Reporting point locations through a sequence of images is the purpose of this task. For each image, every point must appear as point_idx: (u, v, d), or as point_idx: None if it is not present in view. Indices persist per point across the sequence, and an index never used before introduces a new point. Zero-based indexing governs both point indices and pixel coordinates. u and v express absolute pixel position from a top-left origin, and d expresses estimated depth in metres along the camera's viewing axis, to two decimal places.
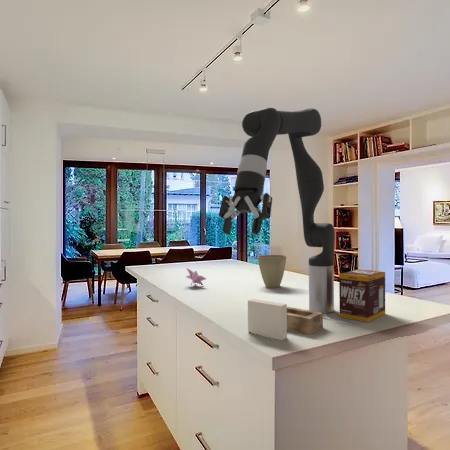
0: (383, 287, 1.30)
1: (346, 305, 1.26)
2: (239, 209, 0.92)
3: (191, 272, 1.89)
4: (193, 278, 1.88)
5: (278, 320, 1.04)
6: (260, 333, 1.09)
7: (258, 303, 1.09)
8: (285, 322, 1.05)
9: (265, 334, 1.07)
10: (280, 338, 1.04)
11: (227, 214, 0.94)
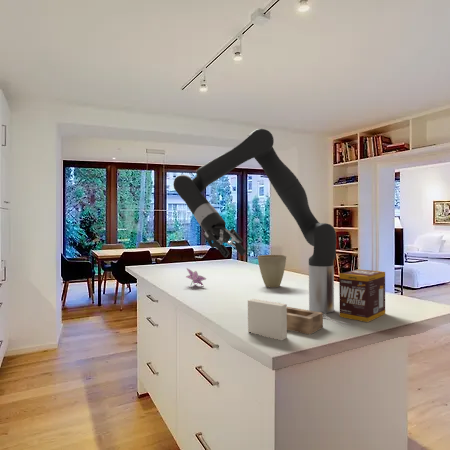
0: (383, 287, 1.30)
1: (346, 305, 1.26)
2: None
3: (191, 272, 1.89)
4: (193, 278, 1.88)
5: (278, 320, 1.04)
6: (260, 333, 1.09)
7: (258, 303, 1.09)
8: (285, 322, 1.05)
9: (265, 334, 1.07)
10: (280, 338, 1.04)
11: None
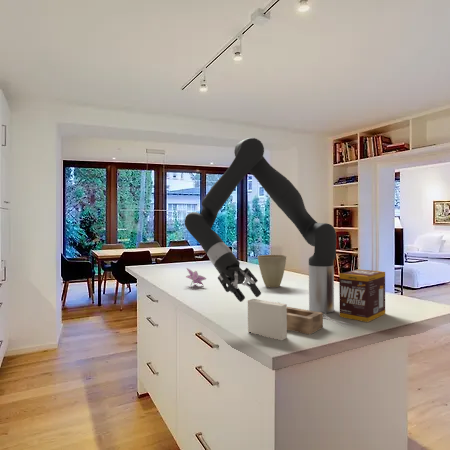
0: (383, 287, 1.30)
1: (346, 305, 1.26)
2: None
3: (191, 272, 1.89)
4: (193, 278, 1.88)
5: (278, 320, 1.04)
6: (260, 333, 1.09)
7: (258, 303, 1.09)
8: (285, 322, 1.05)
9: (265, 334, 1.07)
10: (280, 338, 1.04)
11: None
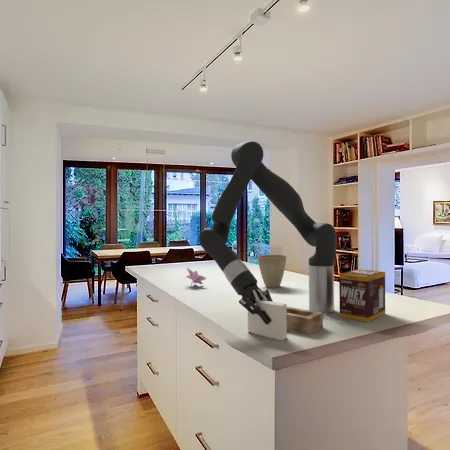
0: (383, 287, 1.30)
1: (346, 305, 1.26)
2: None
3: (191, 272, 1.89)
4: (193, 278, 1.88)
5: (278, 319, 1.04)
6: (260, 333, 1.08)
7: None
8: (285, 322, 1.05)
9: (265, 334, 1.07)
10: (280, 338, 1.04)
11: None
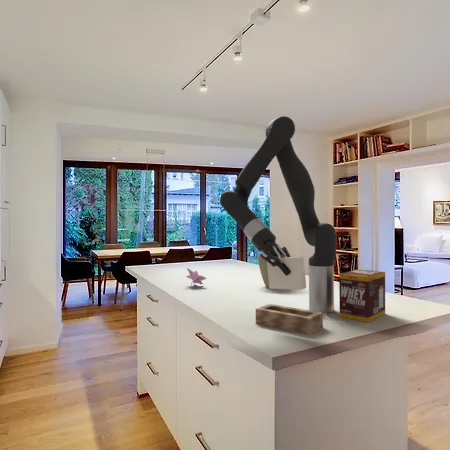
0: (383, 287, 1.30)
1: (346, 305, 1.26)
2: None
3: (191, 272, 1.89)
4: (193, 278, 1.88)
5: (297, 271, 1.12)
6: (281, 287, 1.16)
7: None
8: (303, 273, 1.14)
9: (286, 287, 1.15)
10: (300, 287, 1.12)
11: None
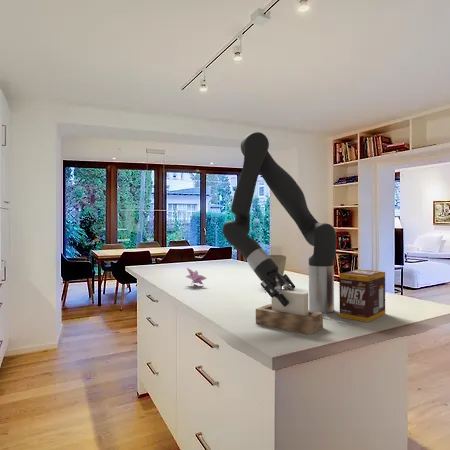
0: (383, 287, 1.30)
1: (346, 305, 1.26)
2: None
3: (191, 272, 1.90)
4: (193, 278, 1.89)
5: (300, 307, 1.14)
6: None
7: (281, 292, 1.18)
8: (307, 309, 1.15)
9: None
10: None
11: None
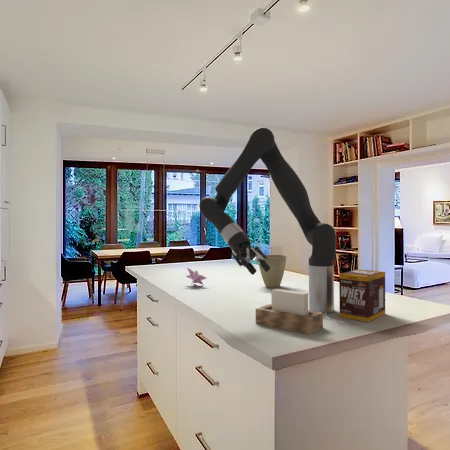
0: (383, 287, 1.30)
1: (346, 305, 1.26)
2: None
3: (191, 272, 1.90)
4: (193, 277, 1.89)
5: (300, 307, 1.14)
6: None
7: (281, 292, 1.18)
8: (307, 309, 1.15)
9: None
10: None
11: None
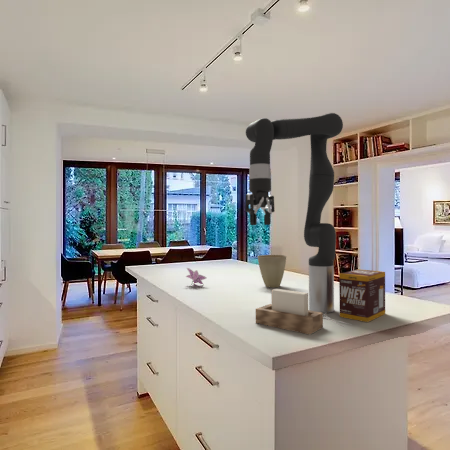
0: (383, 287, 1.30)
1: (346, 305, 1.26)
2: None
3: (191, 271, 1.91)
4: (193, 277, 1.90)
5: (300, 307, 1.14)
6: None
7: (281, 292, 1.18)
8: (307, 309, 1.15)
9: None
10: None
11: None
